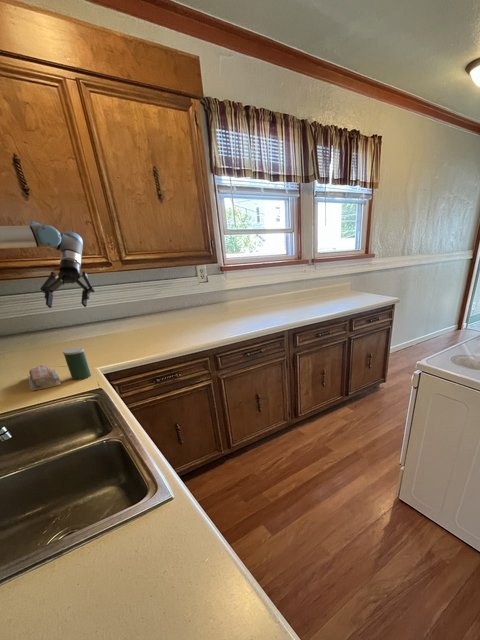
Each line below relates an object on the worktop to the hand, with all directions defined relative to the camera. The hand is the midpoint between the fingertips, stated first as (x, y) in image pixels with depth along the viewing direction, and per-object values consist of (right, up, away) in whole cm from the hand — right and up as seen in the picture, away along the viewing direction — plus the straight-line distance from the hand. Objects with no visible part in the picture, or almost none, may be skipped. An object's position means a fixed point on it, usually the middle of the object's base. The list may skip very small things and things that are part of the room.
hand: (66, 305), depth 138 cm
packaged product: (-7, -33, -3) cm, 33 cm away
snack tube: (+5, -30, +2) cm, 31 cm away
